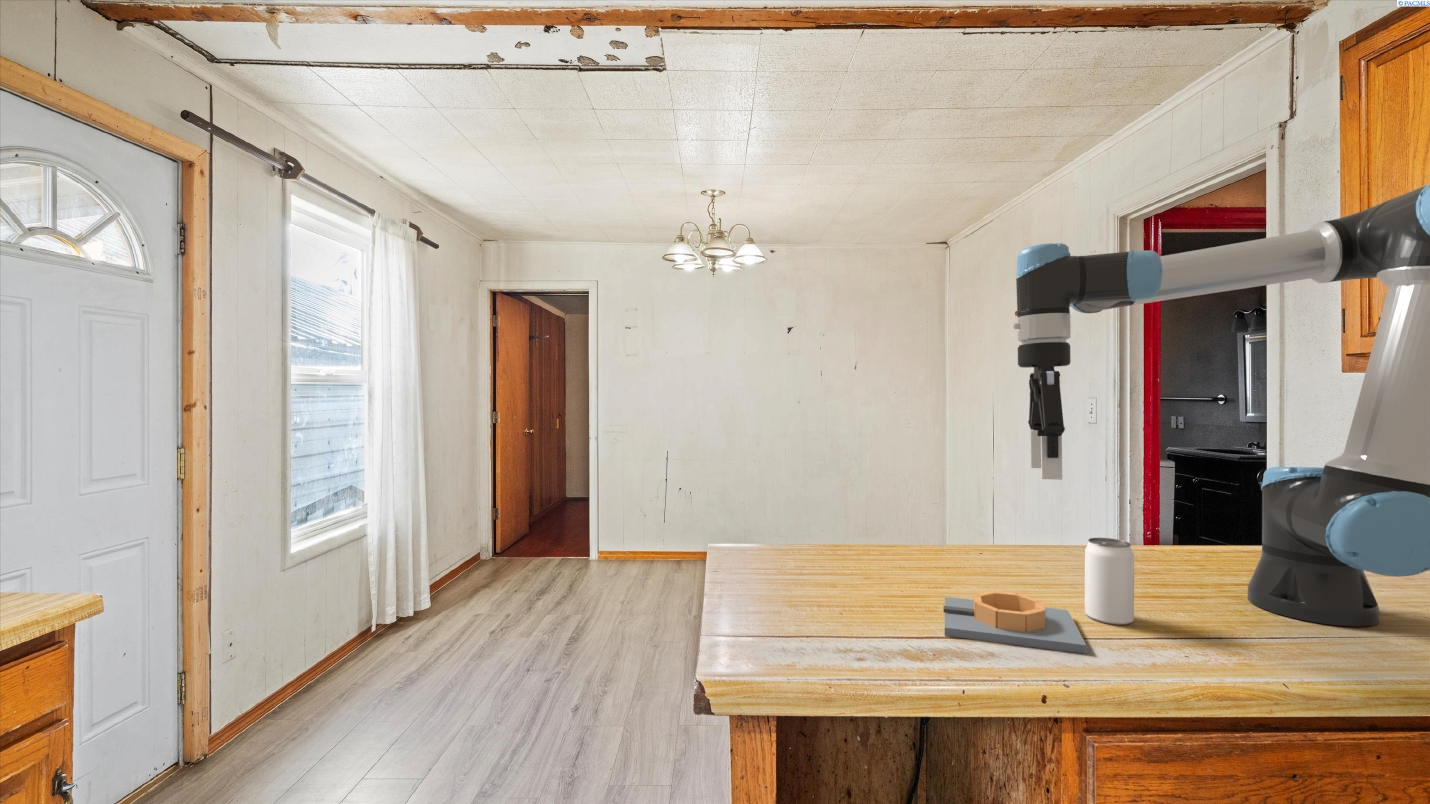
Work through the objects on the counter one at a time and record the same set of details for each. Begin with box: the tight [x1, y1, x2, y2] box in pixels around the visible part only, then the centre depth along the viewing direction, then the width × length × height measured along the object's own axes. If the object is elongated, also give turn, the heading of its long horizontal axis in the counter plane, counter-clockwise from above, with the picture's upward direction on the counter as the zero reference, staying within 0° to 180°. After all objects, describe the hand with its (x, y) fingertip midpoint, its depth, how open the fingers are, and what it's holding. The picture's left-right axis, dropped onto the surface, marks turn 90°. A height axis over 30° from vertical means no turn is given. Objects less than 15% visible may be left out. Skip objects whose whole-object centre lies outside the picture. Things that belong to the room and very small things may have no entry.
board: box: [943, 590, 1087, 655], centre depth 92 cm, size 18×14×4 cm
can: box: [1084, 537, 1135, 626], centre depth 95 cm, size 6×6×12 cm
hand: (1045, 473), depth 99 cm, fingers open, 13 cm apart
